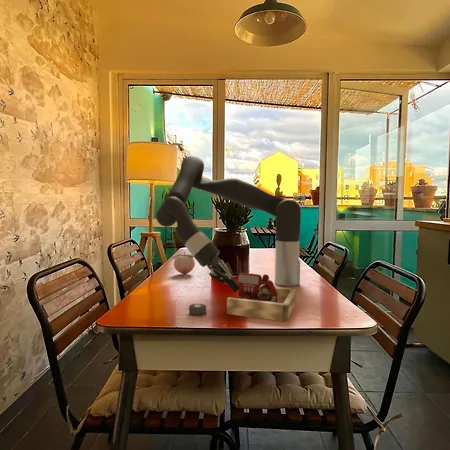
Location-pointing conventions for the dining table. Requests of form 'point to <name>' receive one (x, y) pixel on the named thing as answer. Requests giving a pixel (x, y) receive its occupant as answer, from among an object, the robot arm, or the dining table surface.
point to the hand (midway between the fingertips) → (237, 290)
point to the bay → (265, 306)
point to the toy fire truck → (256, 287)
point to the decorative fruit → (184, 263)
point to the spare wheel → (197, 309)
